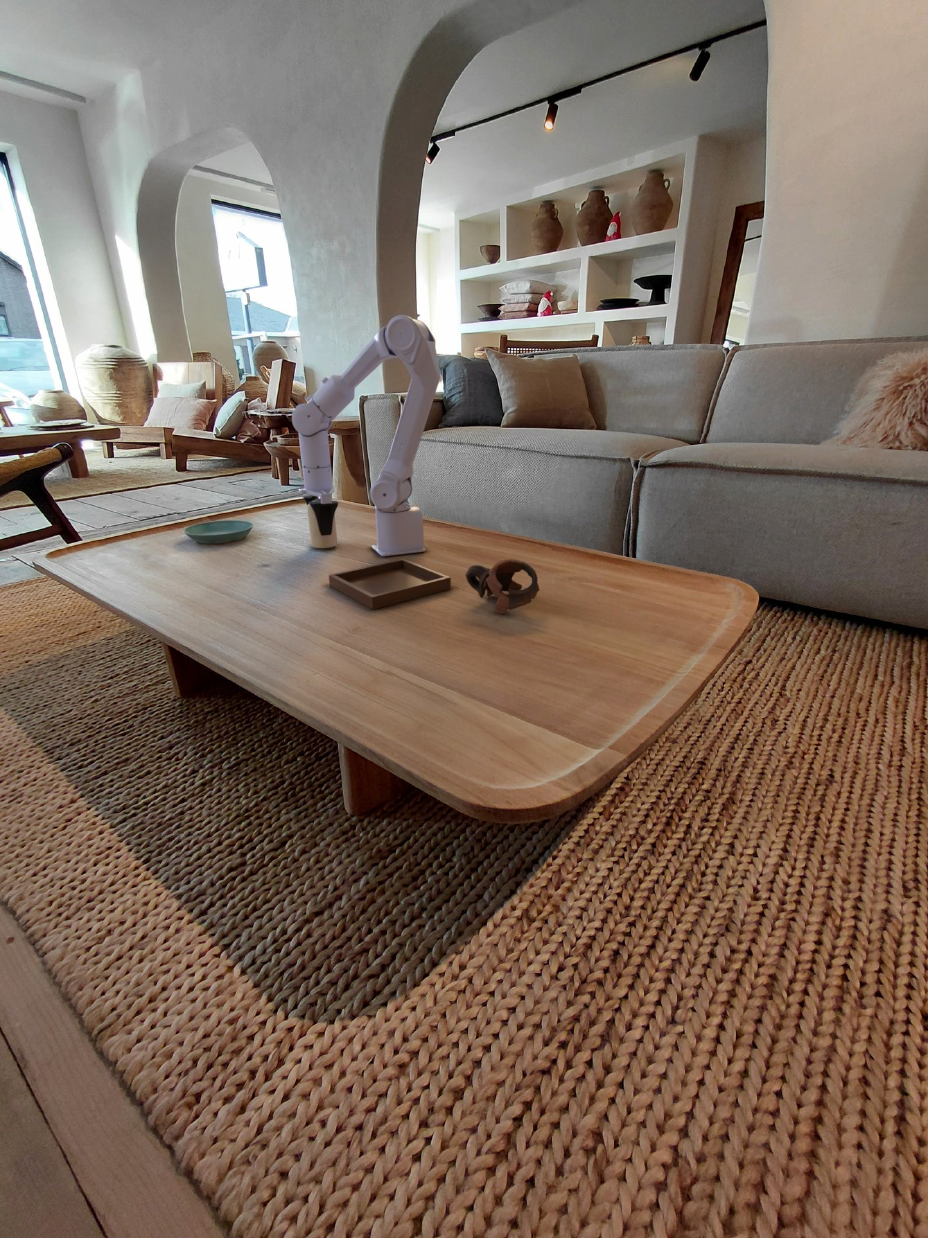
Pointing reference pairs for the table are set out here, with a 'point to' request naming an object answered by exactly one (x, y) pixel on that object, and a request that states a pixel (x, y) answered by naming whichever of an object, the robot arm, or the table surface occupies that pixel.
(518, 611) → the table surface
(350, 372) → the robot arm
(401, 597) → the tray
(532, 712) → the table surface
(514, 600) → the leather belt
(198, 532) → the saucer
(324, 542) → the candle
